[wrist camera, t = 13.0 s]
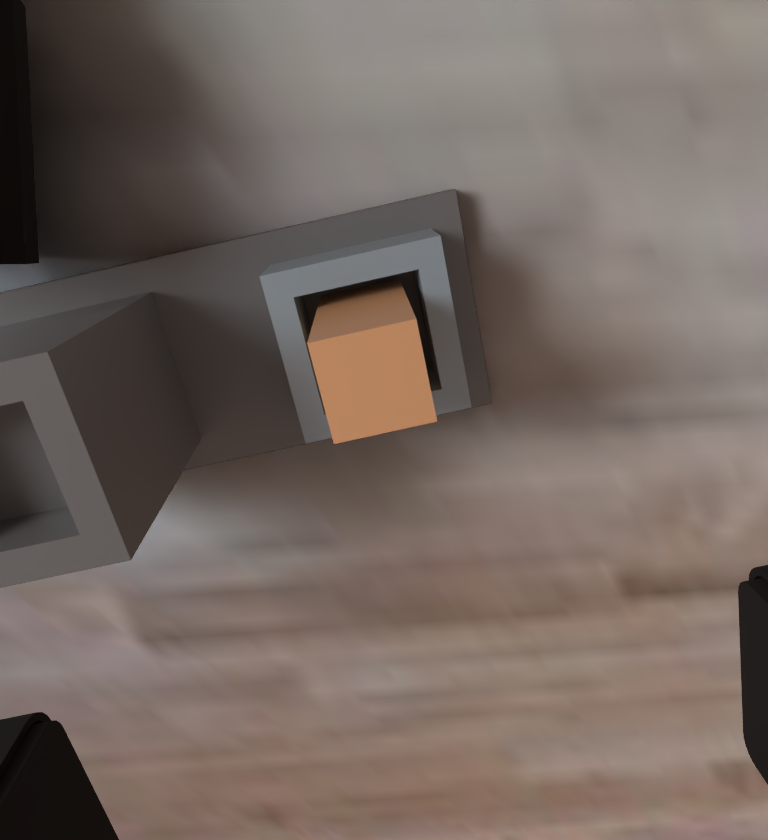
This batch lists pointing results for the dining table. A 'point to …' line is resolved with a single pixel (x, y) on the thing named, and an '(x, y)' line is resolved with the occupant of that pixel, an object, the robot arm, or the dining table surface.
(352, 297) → the peg
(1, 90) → the cable
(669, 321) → the dining table surface
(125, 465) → the socket stand
